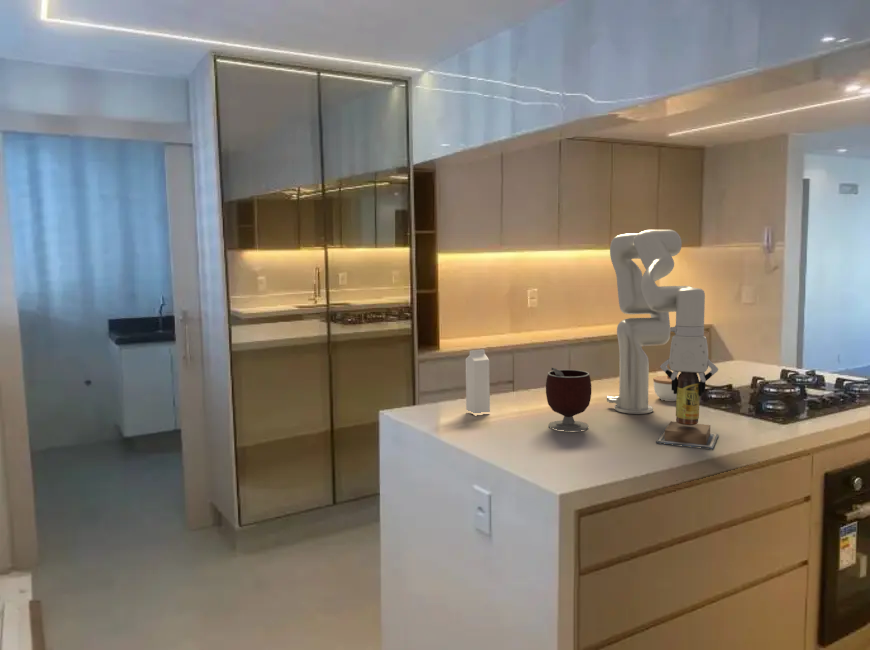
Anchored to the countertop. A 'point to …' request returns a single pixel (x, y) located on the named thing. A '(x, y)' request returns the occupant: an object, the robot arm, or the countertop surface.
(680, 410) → the sauce bottle
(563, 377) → the mate gourd
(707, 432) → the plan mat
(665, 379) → the lidded jar
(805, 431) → the countertop surface
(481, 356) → the milk
